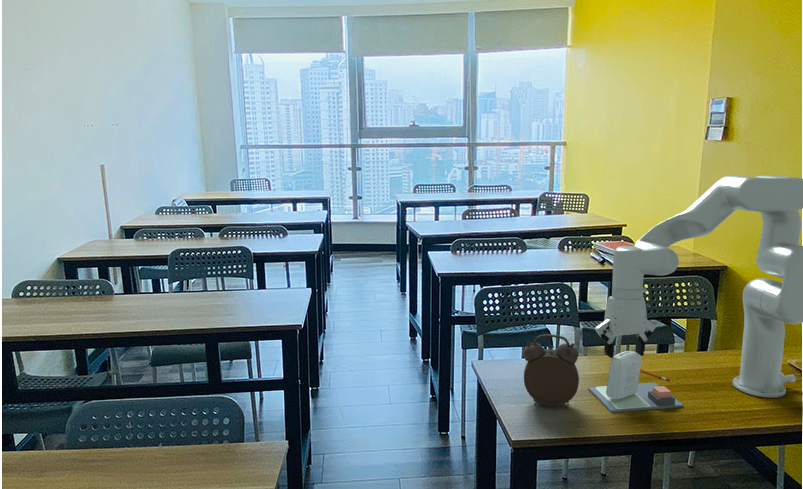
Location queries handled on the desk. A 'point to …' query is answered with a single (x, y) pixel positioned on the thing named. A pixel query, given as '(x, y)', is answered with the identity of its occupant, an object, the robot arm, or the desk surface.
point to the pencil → (653, 374)
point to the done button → (661, 392)
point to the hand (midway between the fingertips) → (624, 354)
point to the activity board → (635, 399)
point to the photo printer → (623, 375)
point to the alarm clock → (551, 372)
